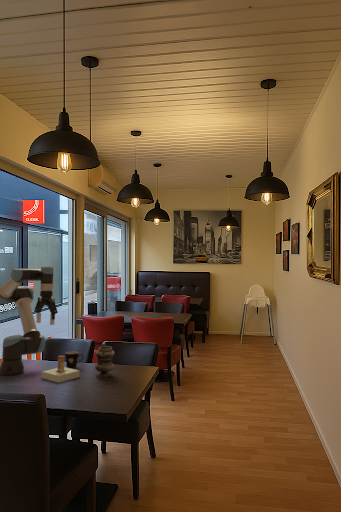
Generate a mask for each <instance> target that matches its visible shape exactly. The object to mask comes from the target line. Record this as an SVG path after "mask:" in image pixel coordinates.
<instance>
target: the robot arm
mask: <svg viewBox="0 0 341 512" xmlns="http://www.w3.org/2000/svg"><path fill="white" fill-rule="evenodd" d="M26 281H28V282H31V281H32V282H33V281H34V282H35V281H36V282H38V281H39V282H40V288H39V289H40V291H39V293H40V294H39V296H40V297H37V301H36V303H35V304H36V305H35V307H34V310H32V301H34V291H33V290H34V289H32V287H31V286H28V285H22V283H23V282H26ZM20 285H22V286H20ZM53 289H54V267H53V266H49V265H48V266H47V265H46V266H44V265H43V266H41V268H34V269H33V268H13V269H12V270H11V272H10V278H9V279H8V280H7V281H6V282H5V283H4V284H2V285H0V300H1V301H3V302H4V303H14V306H15V307H18V308H17V309H18V313H19V318H20V322H21V326H22V331H23V335H21V334H15V335H10V336H7V337H4V339H3V340H2V354H1V357H2V360H1V364H0V375H1V376H15V375H21V374H23V373H24V372H25V367H24V364H23V361H22V360H23V356H25V355H27V356H28V355H33V354H41V353H43V352H44V350H45V346H46V337H45V335H43V334H41V332H40V331H39V330H38V329H37V325H36V324H41V323H42V310H43V309H44V306H47V308H48V309H49V312H50V314H49V325H50V326H54V325H55V320H56V314H58V309H57V308H58V307H57V304H56V302H55V301H56V300H55V298H52V297H53V293H54V292H53ZM33 311H34V312H35V313H36V321H35V316H34V313H33Z"/></svg>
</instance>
